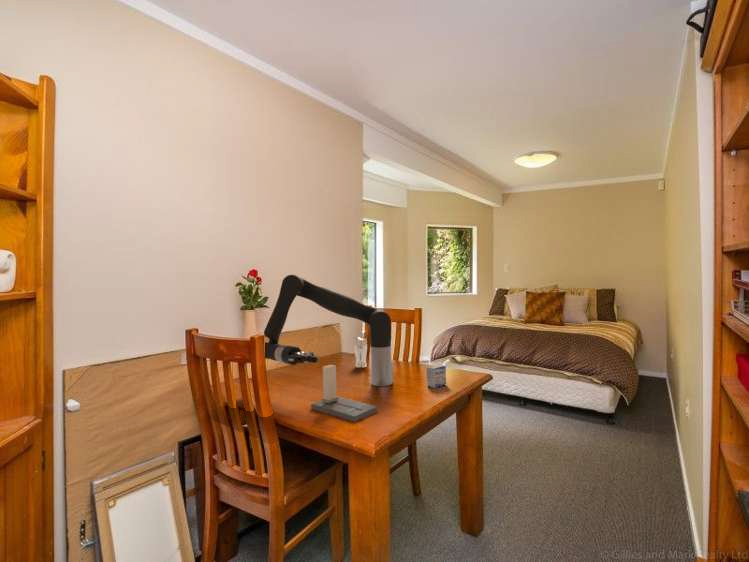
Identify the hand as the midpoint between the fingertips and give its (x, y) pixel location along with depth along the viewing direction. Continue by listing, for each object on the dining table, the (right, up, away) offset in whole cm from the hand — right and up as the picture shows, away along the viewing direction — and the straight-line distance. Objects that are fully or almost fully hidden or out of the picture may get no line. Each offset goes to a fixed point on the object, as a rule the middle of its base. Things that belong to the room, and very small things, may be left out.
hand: (316, 359), depth 152 cm
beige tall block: (+6, -14, -4) cm, 16 cm away
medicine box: (+50, -15, +19) cm, 56 cm away
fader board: (+11, -17, -9) cm, 22 cm away
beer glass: (+15, -16, +59) cm, 63 cm away
